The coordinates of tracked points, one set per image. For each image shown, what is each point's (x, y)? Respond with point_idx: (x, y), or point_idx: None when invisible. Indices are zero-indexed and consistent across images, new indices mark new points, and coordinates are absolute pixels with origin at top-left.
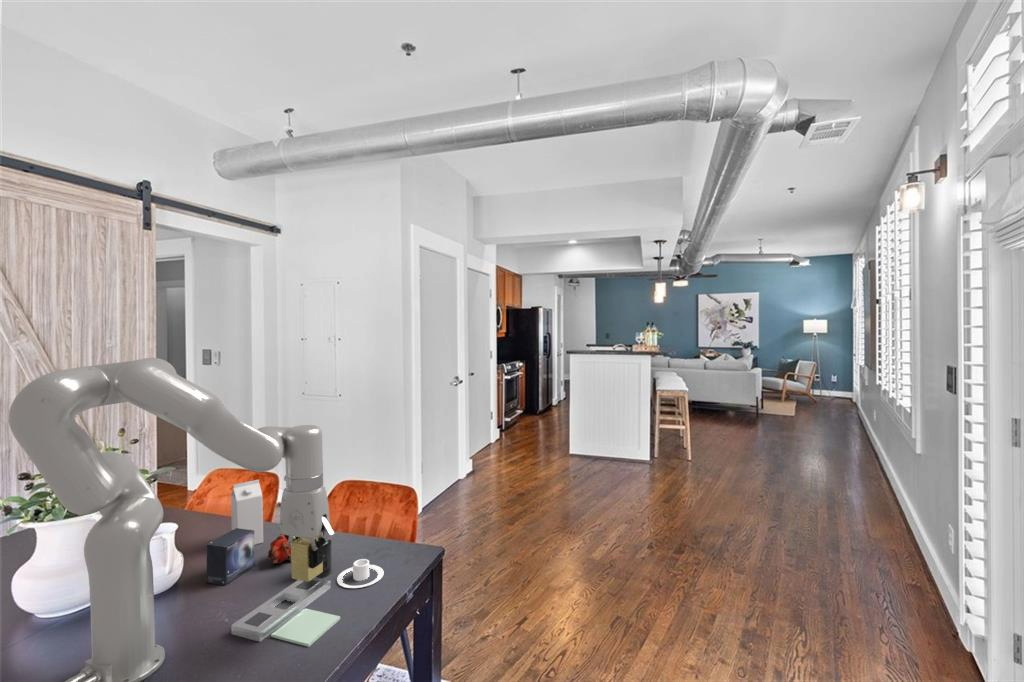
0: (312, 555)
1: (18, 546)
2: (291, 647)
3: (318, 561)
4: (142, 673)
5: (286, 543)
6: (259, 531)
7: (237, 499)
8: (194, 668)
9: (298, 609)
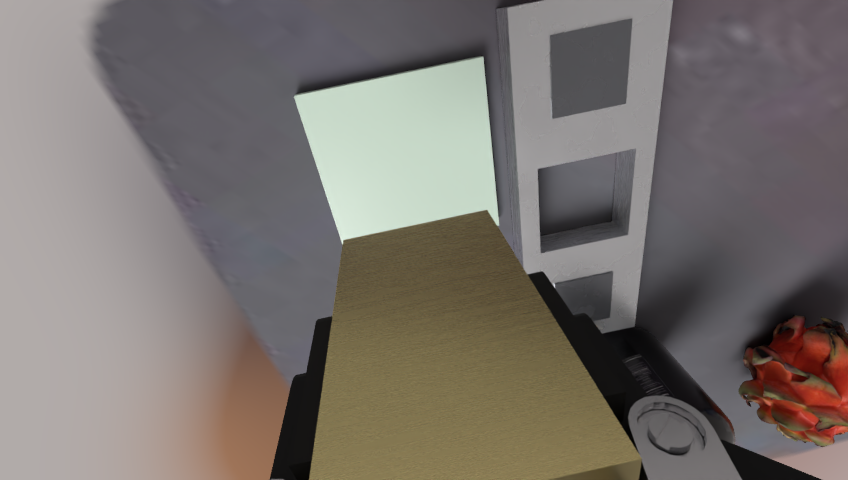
0: (298, 417)
1: None
2: (351, 56)
3: (296, 388)
4: None
5: (818, 391)
6: None
7: None
8: None
9: (514, 208)
